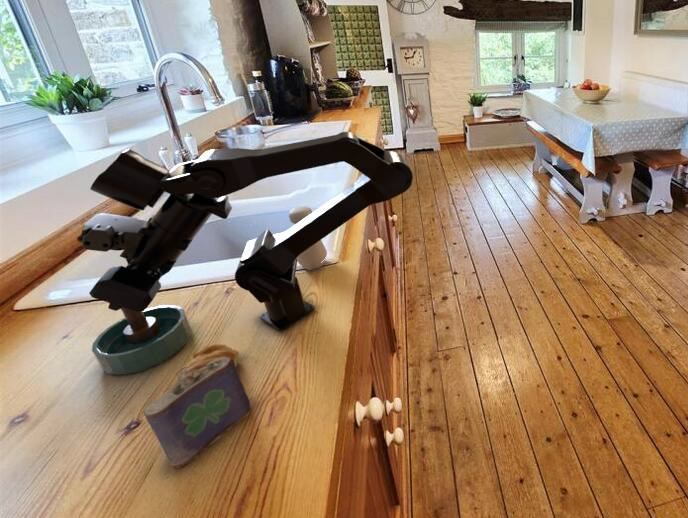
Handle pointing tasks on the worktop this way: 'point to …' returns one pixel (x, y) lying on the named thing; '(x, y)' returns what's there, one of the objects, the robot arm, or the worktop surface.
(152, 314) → the bowl
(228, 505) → the worktop surface
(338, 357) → the worktop surface
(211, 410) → the flask
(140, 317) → the brown wooden peg
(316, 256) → the salt shaker
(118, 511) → the worktop surface
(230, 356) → the pastry
